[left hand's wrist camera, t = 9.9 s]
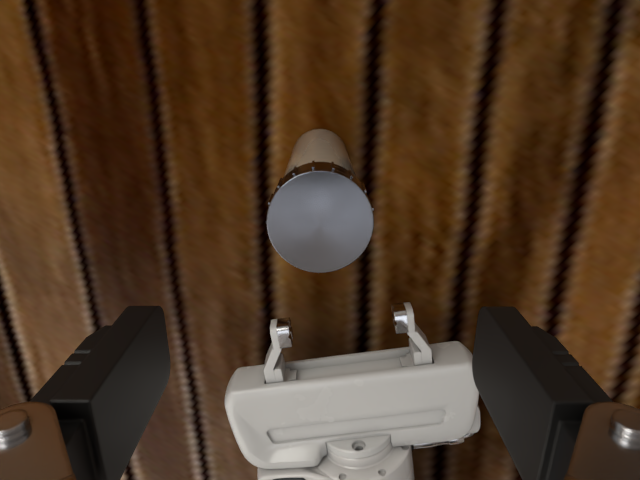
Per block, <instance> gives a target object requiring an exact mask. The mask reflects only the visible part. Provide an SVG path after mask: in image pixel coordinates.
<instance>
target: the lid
mask: <svg viewBox="0 0 640 480" xmlns="http://www.w3.org/2000/svg"><path fill="white" fill-rule="evenodd" d="M366 192H367V191H366V189H365V186H364V184H363V182H362V183H361V182H360V181H359V180H358V178H357V177H356V176H355V175H354V174H353V173H352V172H351V170H350V169H349V170H347V169H345V168H344V167H342V166H339V165H337V164H334V162H331V163H329V162H315V161H312V162H311V163H307V164H303V165H301V166H299V167H296V166H295V167H294V169H293V170H292V171H290V172H289V173H288V174H287V175H285V177H284V178H283V179H282V178H280V180H279V183H278V186H277V188H276V189H275V192H274V194H272V195H271V197H270V200H269V203H268V205H269V208H268V212H267V220H266V223H267V231H268V235H269V238H270V241H271V243H272V245H273V247H274V248H275V250H276V251H277V252H278V254H279V255H280V256H281V257H282V258H283V259H284V260H286V261H287V262H288V263H290V264H291V265H293V266H295V267H297V268H299V269H302V270H305V271H309V272H317V273H322V272H331V271H335V270H338V269H341V268H343V267H345V266H347V265H349V264H351V263H352V262H353V261H355V260H356V259H357V258H358V257H359V256H360V255H361V254H362V253H363V251H364V250H365V249H366V247H367V245H368V243H369V241H370V239H371V236H372V233H373V228H374V227H373V226H374V217H373V211H372V210H374V209H373V206H372V204H371V201H370V199H368V196H367V194H366Z"/></svg>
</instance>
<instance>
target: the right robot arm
mask: <svg viewBox="0 0 640 480" xmlns="http://www.w3.org/2000/svg"><path fill="white" fill-rule="evenodd" d="M391 310H392V313H393V314H392V320H393V325H394V326H395V331H396V334H398V333H407V334H408V335H409V336H410V338H409V347H402V348H394V349H386V350H378V351H370V352H362V353H354V354H346V355H337V356H329V357H321V358H313V359H305V360H297V361H289V362H285V361H284V357H283V354H280V352H281V349H282V348H287V347H292V339H293V330H292V327H291V320H290V318H281V319H273V320H271V324H270V335H271V339H272V343H271V346H270V348H269V350H268V353H267V355H266V360H265V365H257V366H248V367H241V368H238V369H237V370H236V371H235V372H234V374H233V375H232V377H231V379H230V381H229V383H228V386H227V390H226V394H225V408H226V413H227V416H228V419H229V423H230V426H231V428H232V431H233V434H234V436H235V439H236V441H237V443H238V446H239V448H240V450H241V452H242V454H243V455H244V457H245V458H246V459H247V460H248V461H249V462H250V463H251V464H253V465H254V466H256V467H258V480H414V469H413V458H412V450H413V449H420V448H429V447H434V446H438V445H443V444H449V445H455V444H460V443H463V442H464V438H467V437H470V436H472V435H473V434H474V433H476V432H478V431H479V429H480V407H479V405H478V398H479V392H478V390H477V388H476V385H475V382H474V379H473V373H472V358H473V355H472V353H471V352H470V351H469V350H468V349H467V348H466V347H465V346H464V345H463V344H462V343H460V342H458V341H450V342H443V343H435V344H429V343H428V340H427V338H426V335H425V334H424V333H423V332H422V331H421V329H420V328H419V327H418V326H417V325H416V323H415V322H414V313H413V309H412V306H411V304H410V302H406V303H398V304H391Z"/></svg>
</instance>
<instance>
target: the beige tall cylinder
mask: <svg viewBox="0 0 640 480" xmlns="http://www.w3.org/2000/svg"><path fill="white" fill-rule="evenodd" d="M312 161H315V162H329V163H331V162H334V164H337V165H339V166H342V167H344V168H345V169H347V170H349V169H350V170H351V172H352V173H353V174H354V175H355V172H354V169H353V167H352V164H351V161H350V158H349V155H348V153H347V150H346V147H345V145H344V143H343V141H342V140H341V139H340V138H339V137H338V136H337V135H336V134H335V133H333V132H331V131H328V130H325V129H315V130H311V131H309V132H306V133H305V134H303V135H302V136H301V137H300V138H299V139H298V141H297V142H296V144H295V146H294V149H293V152H292V154H291V157H290V160H289V163H288V166H287V169H286V172H285V175H287V174H288V173H289V172H290V171H292V170H293V169H294V167H295V166H296V167H299V166H301V165H303V164H307V163H311V162H312ZM285 175H284V177H285ZM355 176H356V175H355Z"/></svg>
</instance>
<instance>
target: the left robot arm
mask: <svg viewBox="0 0 640 480" xmlns="http://www.w3.org/2000/svg"><path fill="white" fill-rule="evenodd" d="M472 373H473V379H474V382H475V385H476V388H477V390H478V392H479V394H480V396H481V398H482V400H483V402H484V404H485V406H486V408H487V410H488V412H489V414H490V416H491V418H492V420H493V422H494V424H495V426H496V428H497V430H498V432H499V434H500V436H501V438H502V440H503V442H504V444H505V446H506V448H507V450H508V452H509V454H510V456H511V458H512V460H513V462H514V464H515V466H516V468H517V470H518V472H519V474H520V476H521V478H522V480H640V410H639V409H637V408H634V407H632V406H628V405H625V404H621V403H616V402H613V401H612V400H611V399H610V398H609V397H608V395H607V394H606V393H605V392H604V391H603V390H602V389H601V388H600V386H599V385H598V384H597V383H596V382H595V381H594V380H593V379H592V378H591V376H590V375H589V374H588V373H587V372H586V371H585V370H584V369H583V367H582V366H579V363H578V362H577V361H576V360H575V359H574V357H573V356H572V355H569V353H568V351H567V350H566V348H565V347H564V346H563V345H562V344H561V343H560V342H559V341H558V340H557V338H555V337H554V336H552V335H550V334H549V333H547V332H545V331H544V330H542V329H541V328H539V327H537V326H530V325H529V323H528V322H527V321H526V320H525V319H524V317H523V316H522V315H521V314H520V313H519V311H518V310H517V309H516V308H515V307H482V308H481V309H480V311H479V315H478V321H477V329H476V336H475V343H474V351H473V358H472ZM169 374H170V355H169V347H168V340H167V332H166V325H165V317H164V312H163V309H162V308H161V307H160V306H128V307H127V308H126V309H125V310H124V311H123V313H122V314H121V315H120V316H119V318H118V319H117V320H116V321H115V322H114V324H113V325H112V326H104V327H103V328H101V329H99V330H98V331H96V332H94V333H93V334H91V335H90V336H88V337H86V339H85V340H84V341H83V342H82V343H81V344H80V345H79V346H78V348H77V349H76V350H75V353H74V354H71V356H70V357H69V358H68V359H67V360H66V361H65V364H64V365H62V366H61V367H60V368H59V369H58V370H57V371H56V372H55V374H54V375H53V376H52V377H51V378H50V379H49V380H48V381H47V383H46V384H45V385H44V386H43V387H42V388H41V389H40V390H39V392H38V393H37V394H36V395H35V396H34V397H33V398H32V399H31V401H30V402H24V403H19V404H15V405H12V406H8V407H6V408H3V409H1V410H0V480H120V479H121V477H122V475H123V473H124V470H125V468H126V466H127V464H128V462H129V460H130V458H131V456H132V454H133V452H134V450H135V448H136V446H137V444H138V442H139V440H140V438H141V436H142V434H143V432H144V430H145V428H146V426H147V424H148V422H149V420H150V418H151V416H152V414H153V412H154V410H155V408H156V406H157V404H158V402H159V400H160V398H161V395H162V393H163V391H164V389H165V387H166V385H167V383H168V379H169Z"/></svg>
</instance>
